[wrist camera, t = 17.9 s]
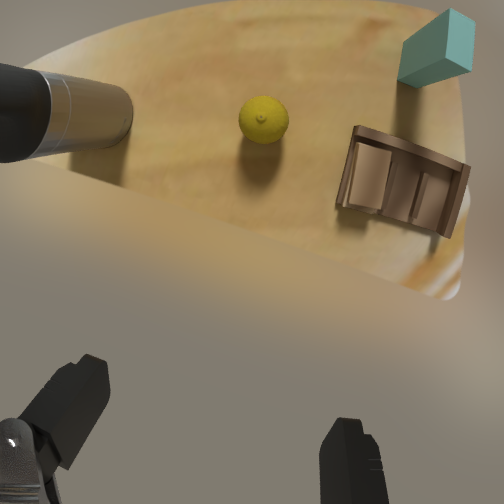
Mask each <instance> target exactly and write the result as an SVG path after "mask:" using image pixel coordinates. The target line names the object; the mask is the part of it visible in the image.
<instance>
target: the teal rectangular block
mask: <svg viewBox="0 0 504 504" xmlns="http://www.w3.org/2000/svg"><path fill="white" fill-rule="evenodd" d="M474 36H475V22H474V21H473V20H471V19H469V18H467V17H466V16H464V15H462V14H460V13H459V12H457V11H455V10H453V9H451V8H449V9H448V10H446V11H445V12H443V13H442V14H441V15H439V16H438V17H436V18H435V19H434V20H432V21H431V22H430V23H428V24H427V25H426V26H424V27H423V28H422V29H420V30H419V31H418V32H416V33H415V34H414V35H412V36H411V37H410V38H408V39H407V40H406V41H404V43H403V49H402V55H401V61H400V67H399V72H398V78H397V81H400V82H402V83H405V84H407V85H410V86H412V87H415V88H420V87H423V86H426V85H429V84H432V83H435V82H439V81H442V80H445V79H448V78H451V77H455V76H458V75H461V74H465V73H468V72H471V71H472V62H473V51H474Z"/></svg>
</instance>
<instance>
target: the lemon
mask: <svg viewBox="0 0 504 504" xmlns="http://www.w3.org/2000/svg"><path fill="white" fill-rule="evenodd" d="M288 124H289V116H288V113H287V110H286V108H285V107H284V105H283V104H282V103H281V102H280V101H278V100H277V99H275V98H272V97H269V96H258V97H254V98H252V99H250V100H249V101H247V102H246V103H245V104H244V106H243V107H242V108H241V111H240V113H239V126H240V128H241V131H242V132H243V134H244V135H245V136H246V137H247V138H248V139H250V140H251V141H253V142H256V143H260V144H269V143H272V142H275V141H277V140H278V139H280V138H281V137H282V136H283V135H284V134H285V132H286V130H287V128H288Z"/></svg>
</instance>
